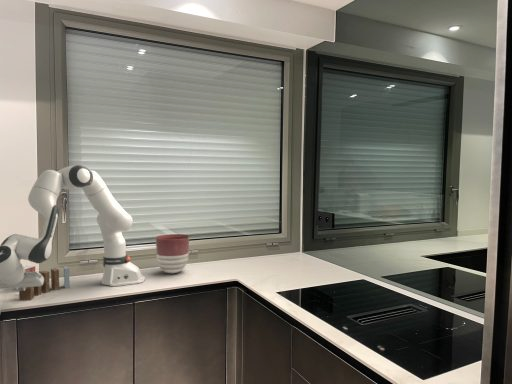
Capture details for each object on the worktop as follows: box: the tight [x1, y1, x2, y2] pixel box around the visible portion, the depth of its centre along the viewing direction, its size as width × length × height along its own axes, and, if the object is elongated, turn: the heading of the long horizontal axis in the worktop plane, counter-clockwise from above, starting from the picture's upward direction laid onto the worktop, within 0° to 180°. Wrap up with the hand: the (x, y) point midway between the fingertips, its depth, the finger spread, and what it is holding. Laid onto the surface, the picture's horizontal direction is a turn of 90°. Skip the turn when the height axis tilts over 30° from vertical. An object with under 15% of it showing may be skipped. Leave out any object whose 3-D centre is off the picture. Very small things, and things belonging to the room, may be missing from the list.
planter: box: [155, 233, 190, 274], centre depth 221 cm, size 20×20×21 cm
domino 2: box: [34, 286, 42, 297], centre depth 180 cm, size 2×5×10 cm, turn 80°
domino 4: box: [50, 267, 60, 291], centre depth 190 cm, size 2×5×10 cm, turn 48°
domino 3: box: [38, 270, 51, 294], centre depth 185 cm, size 2×5×10 cm, turn 64°
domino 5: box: [63, 265, 71, 289], centre depth 193 cm, size 2×5×10 cm, turn 33°
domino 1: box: [18, 287, 35, 301], centre depth 174 cm, size 3×5×10 cm, turn 96°
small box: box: [14, 265, 36, 291], centre depth 191 cm, size 8×6×10 cm
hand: (21, 289), depth 168 cm, fingers closed
